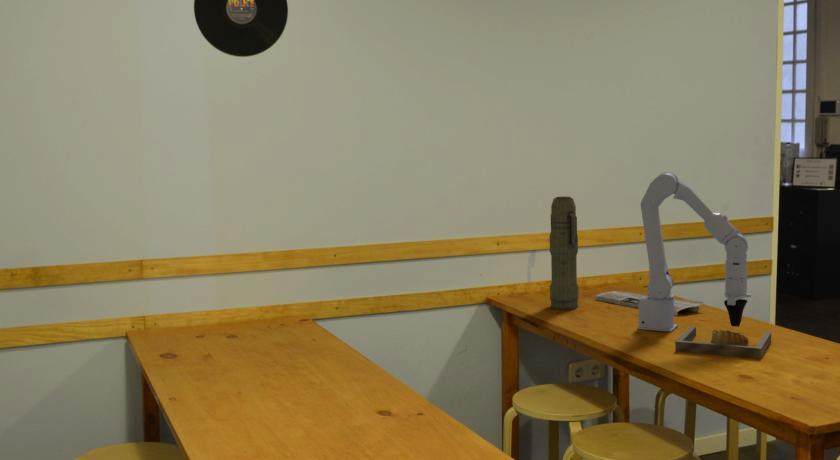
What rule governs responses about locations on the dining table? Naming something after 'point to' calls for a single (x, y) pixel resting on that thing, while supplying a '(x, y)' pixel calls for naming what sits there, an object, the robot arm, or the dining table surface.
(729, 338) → the pastry
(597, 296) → the newspaper
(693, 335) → the grey u-shaped frame
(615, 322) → the dining table surface
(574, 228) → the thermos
